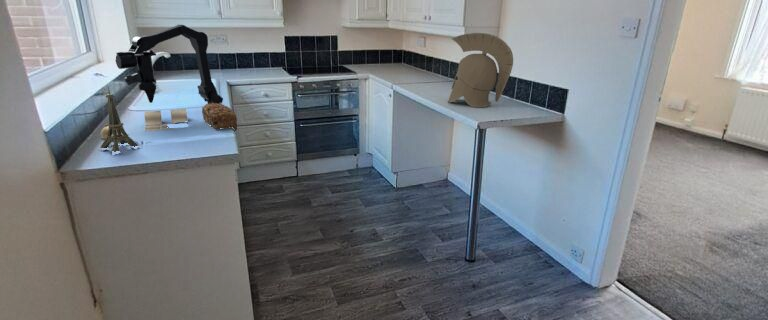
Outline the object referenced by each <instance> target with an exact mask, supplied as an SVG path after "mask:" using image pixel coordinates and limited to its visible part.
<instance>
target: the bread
mask: <svg viewBox="0 0 768 320" xmlns="http://www.w3.org/2000/svg"><path fill="white" fill-rule="evenodd" d="M201 109H202V111H201V114H202V118H203V121H204V120H205V121H206V122H207V123H208V124H209V125H211V127H213V128H214V129H220V128H228V129H230V128H229V127H233V128H234V129H235V131H234V132H236V131H237V130H238V119H237V118H238V117H237V114H236V113H235V111H234V110H233V109H232V108H231V107H229V106H227V105H225V104H223V103H220V104H218V103H209V104H208V103H206V104H205V105H203V106H202V108H201ZM205 121H204V122H205ZM207 123H206V124H207ZM208 124H207V125H208ZM209 125H208V126H209ZM211 127H210V128H211ZM214 129H213V130H214Z"/></svg>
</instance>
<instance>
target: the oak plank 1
mask: <svg viewBox="0 0 768 320" xmlns="http://www.w3.org/2000/svg"><path fill="white" fill-rule="evenodd" d="M143 114H144V125H145V126H151V125H163V119H162V112H161V110H152V111H151V110H150V111H144V113H143Z"/></svg>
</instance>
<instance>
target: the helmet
mask: <svg viewBox="0 0 768 320" xmlns="http://www.w3.org/2000/svg"><path fill="white" fill-rule="evenodd" d="M451 40H452V41H453V42H455V43H456V44H457V45H458V46H459V47H460V49H461V51H462V52H463V53H465V52H472V51H473V52H481V53H470V54H468V55H467V56H466V55H465V57H463V58H461V59H460V61H459V64H458V69H457V72H456V74H455V76H454V80H453V83H452V85H451V92H450V95H449V98H448V99H447V102H448V103H454V102H455V101H457V100H459V99H460V98H462V97H463V99H464V101H465V102H466V104H467V105H469V106H471V107H474V108H486V107H490V106H491V105H492V102H490V101H489V98H490V97H489V96H490V93H491V91H492V90H494V88H495V97H494V101H495V102H496V103H498V101H499V100H500V98H501V97H502V94H503V93H504V90H505V87H506V86H507V83H508V81H509V78H510V76H511V73H512V70H513V66H514V55H513V52H512V49H511V47H510V46H509V45H508V44H507V42H505V41H504V40H503V39H501V38H500V37H498V36H496V35H494V34H490V33H486V32H471V33H464V34H461V35H457V36H454V37H452V38H451ZM489 55H490V56H492V57H493V58H494V59H495V61H496V62H495V61H494V59H493V58H492V57H490V56H489ZM496 64H497V65H496Z"/></svg>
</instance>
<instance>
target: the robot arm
mask: <svg viewBox="0 0 768 320" xmlns="http://www.w3.org/2000/svg"><path fill="white" fill-rule="evenodd" d="M179 36H183V37H184V38H186V39H188V40H189V42H190V44H191V46H192V49H193V50H194V51H195V56H196V60H197V66H198V72H199V77H200V85H197V89H198V95H199V96H200V97H201V98H203V100H204V102H207V103H206V104H209V103H218V104H220V103H221V104H223V101H224V98H223V97H222V96H221V95H219V94H218V91H217V87H216V86H215V85H214V83H213V81H212V75H211V70H210V65H209V59H208V54H207V49H208V46H209V37H208V35H207V34H206V33H205V32H203V31H198V30H195V29H193V28H190V27H188V26H186V24H185V25H184V24H177V25H175V26H172V27H170V28H167V29H163V30H160V31H158V32H155V33H153V34H145V35H144V34H143V35H136V36H134V37H133V38H132V40H131V44H130V47H129V48H128V50H127V51H116V52H115V53H116V56H115V64H116V66H117V68H118V69H119V70H123V69H124V70H125V69H134V68H136V67H137V72H134V73H133V74H128V75H126V76H124V78H123V79H124V81H125V83H126V84H127V85H128V86H131V85H133V84H135V83H137V82H139V84H138V89H139V91H143V92H144V93H145V94H146V97H147V100H148V102H149V103H150V104H151V103H153V102H154V98H155V95H156V90H157V78H156V77H155V71H154V66H153V59H152V57H154V56H157V53H155V52H154V51H153V50H152V49H154V48H155V47H156V46H157V45H158V44H161V43H162V42H166V41H167V40H171V39H173V38H177V37H179Z"/></svg>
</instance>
